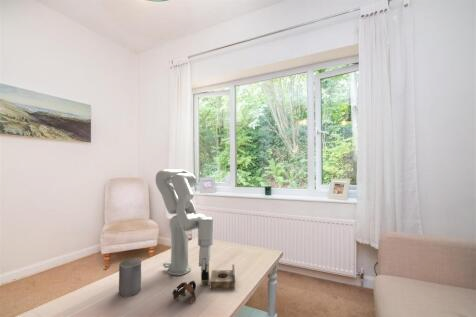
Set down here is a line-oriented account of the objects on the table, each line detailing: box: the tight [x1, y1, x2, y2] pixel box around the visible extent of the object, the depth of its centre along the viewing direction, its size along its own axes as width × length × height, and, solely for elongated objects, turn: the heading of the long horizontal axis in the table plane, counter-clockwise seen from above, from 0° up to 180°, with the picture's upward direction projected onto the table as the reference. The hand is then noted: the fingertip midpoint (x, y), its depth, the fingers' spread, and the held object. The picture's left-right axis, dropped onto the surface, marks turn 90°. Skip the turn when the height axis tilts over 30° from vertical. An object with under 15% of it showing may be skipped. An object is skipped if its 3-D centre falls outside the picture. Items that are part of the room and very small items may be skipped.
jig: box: [209, 264, 236, 290], centre depth 121 cm, size 12×12×6 cm
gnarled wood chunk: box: [171, 280, 197, 305], centre depth 106 cm, size 12×10×8 cm
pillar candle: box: [118, 258, 142, 298], centre depth 112 cm, size 10×10×15 cm
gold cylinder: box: [200, 264, 210, 287], centre depth 119 cm, size 4×4×10 cm
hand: (205, 277), depth 119 cm, fingers closed on gold cylinder, 4 cm apart
